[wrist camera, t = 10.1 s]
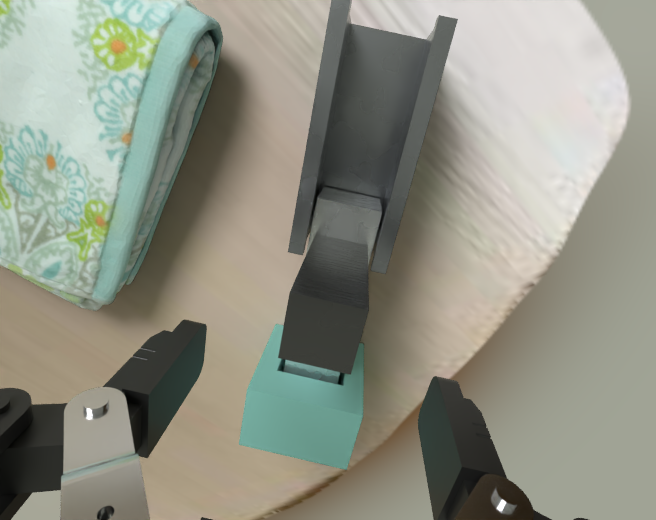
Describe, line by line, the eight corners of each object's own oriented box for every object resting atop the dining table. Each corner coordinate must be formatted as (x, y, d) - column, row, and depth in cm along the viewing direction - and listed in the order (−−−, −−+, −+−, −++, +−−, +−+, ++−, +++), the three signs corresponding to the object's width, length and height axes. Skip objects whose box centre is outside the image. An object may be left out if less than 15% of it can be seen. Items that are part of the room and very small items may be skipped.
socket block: (276, 323, 29) (247, 388, 22) (364, 344, 29) (363, 415, 22) (267, 370, 31) (238, 444, 24) (351, 389, 31) (346, 469, 24)
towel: (-85, 184, 28) (-176, 198, 24) (-47, -146, 21) (-169, -224, 16) (134, 300, 30) (91, 334, 25) (243, 34, 23) (210, 12, 18)
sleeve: (341, 25, 22) (332, -8, 16) (433, 45, 21) (457, 19, 16) (305, 222, 26) (288, 252, 20) (381, 239, 26) (385, 274, 20)
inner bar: (324, 186, 24) (290, 240, 13) (379, 198, 24) (390, 263, 13) (288, 365, 29) (244, 506, 18) (334, 375, 29) (316, 523, 18)
